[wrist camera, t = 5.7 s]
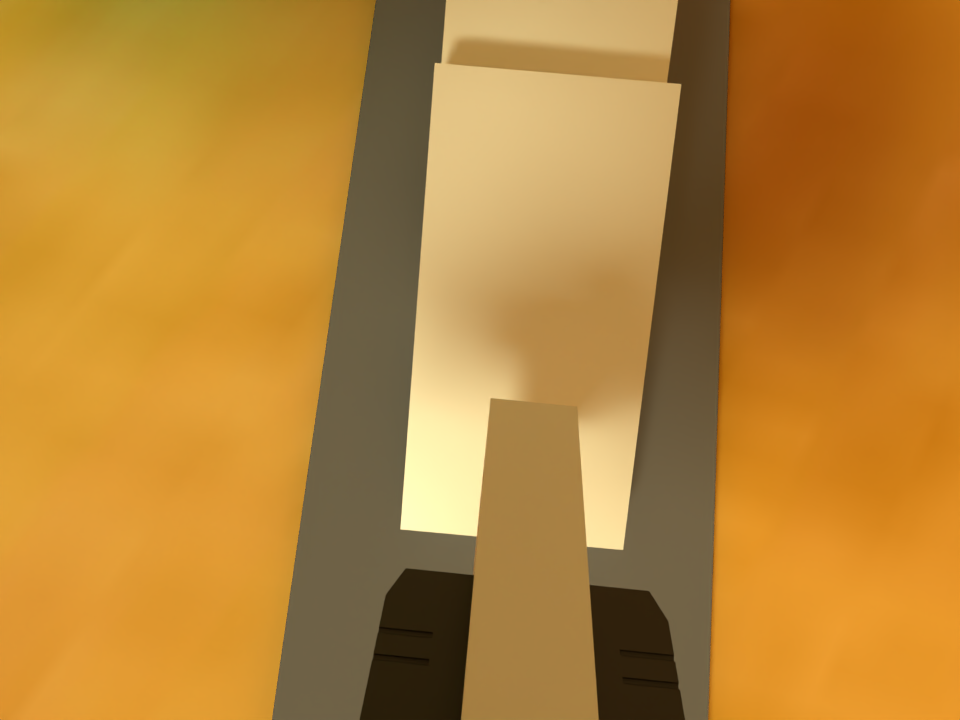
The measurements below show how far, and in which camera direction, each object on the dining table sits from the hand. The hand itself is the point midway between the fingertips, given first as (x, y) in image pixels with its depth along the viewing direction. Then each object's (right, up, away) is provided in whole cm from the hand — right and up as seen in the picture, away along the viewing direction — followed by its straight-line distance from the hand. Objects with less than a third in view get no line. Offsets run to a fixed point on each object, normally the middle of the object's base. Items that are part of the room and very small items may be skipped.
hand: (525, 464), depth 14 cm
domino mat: (0, +3, +7) cm, 8 cm away
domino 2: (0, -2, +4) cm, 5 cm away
